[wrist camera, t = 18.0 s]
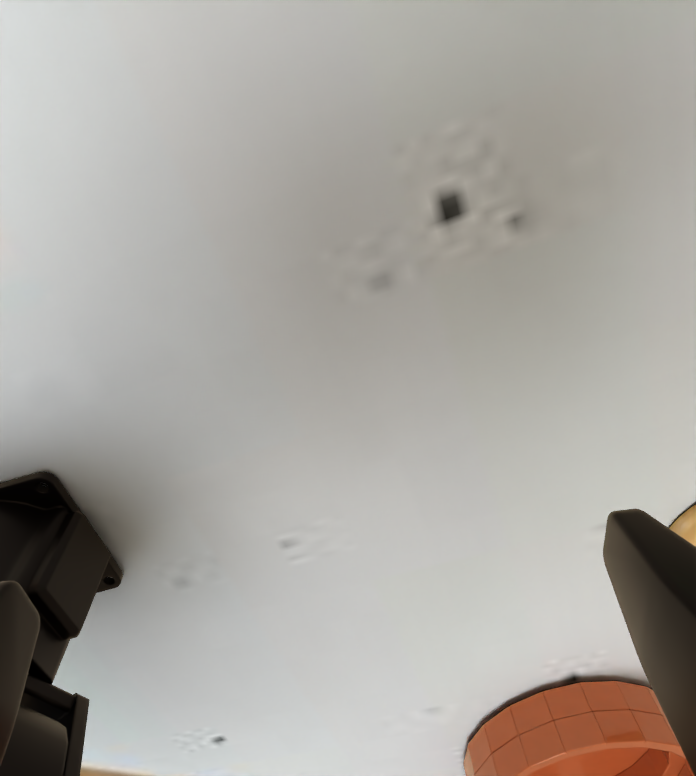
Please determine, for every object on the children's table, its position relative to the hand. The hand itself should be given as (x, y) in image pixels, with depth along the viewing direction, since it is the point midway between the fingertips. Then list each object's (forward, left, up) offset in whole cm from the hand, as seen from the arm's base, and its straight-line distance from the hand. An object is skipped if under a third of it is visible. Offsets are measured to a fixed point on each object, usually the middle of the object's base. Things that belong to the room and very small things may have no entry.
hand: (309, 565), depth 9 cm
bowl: (+6, -33, -13) cm, 36 cm away
